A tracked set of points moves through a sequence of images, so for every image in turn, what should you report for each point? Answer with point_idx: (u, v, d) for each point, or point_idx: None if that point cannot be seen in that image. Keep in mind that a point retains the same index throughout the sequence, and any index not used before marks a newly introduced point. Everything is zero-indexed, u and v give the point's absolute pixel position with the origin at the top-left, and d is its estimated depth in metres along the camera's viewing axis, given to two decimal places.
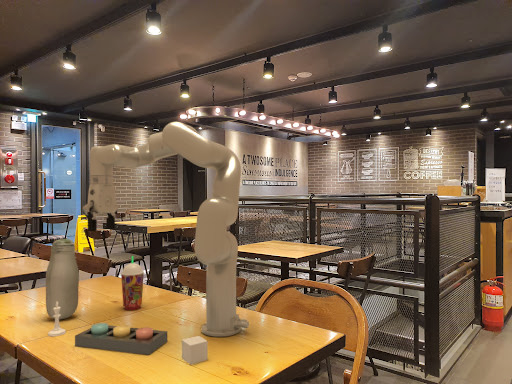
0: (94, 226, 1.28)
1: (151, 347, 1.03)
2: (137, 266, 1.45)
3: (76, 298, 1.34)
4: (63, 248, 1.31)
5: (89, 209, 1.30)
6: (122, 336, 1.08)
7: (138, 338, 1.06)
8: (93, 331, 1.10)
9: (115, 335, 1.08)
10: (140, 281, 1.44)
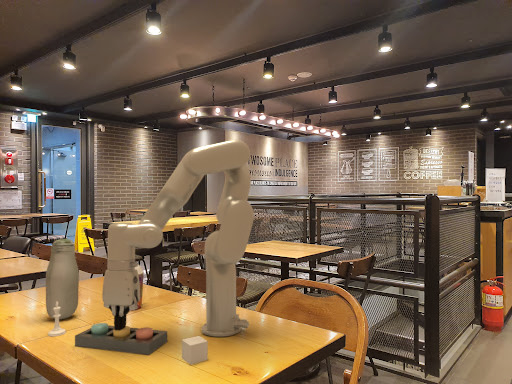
0: None
1: (151, 347, 1.03)
2: (137, 266, 1.45)
3: (76, 298, 1.34)
4: (63, 248, 1.31)
5: None
6: (122, 337, 1.08)
7: (138, 338, 1.06)
8: (93, 331, 1.10)
9: (115, 336, 1.08)
10: (140, 281, 1.44)
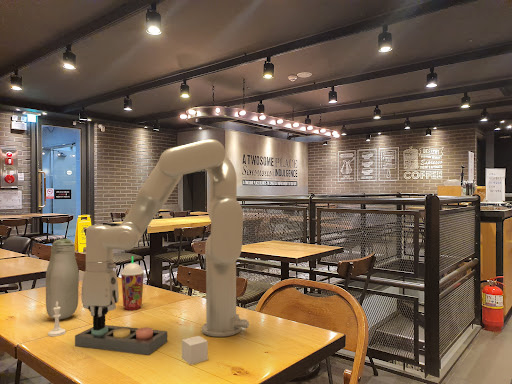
0: None
1: (151, 347, 1.03)
2: (137, 266, 1.45)
3: (76, 298, 1.34)
4: (63, 248, 1.31)
5: None
6: None
7: (138, 338, 1.06)
8: (93, 334, 1.10)
9: None
10: (140, 281, 1.44)
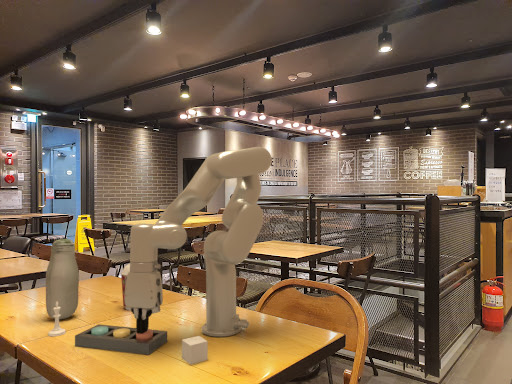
0: None
1: (151, 347, 1.03)
2: None
3: (76, 298, 1.34)
4: (63, 248, 1.31)
5: None
6: None
7: None
8: (93, 334, 1.10)
9: None
10: None
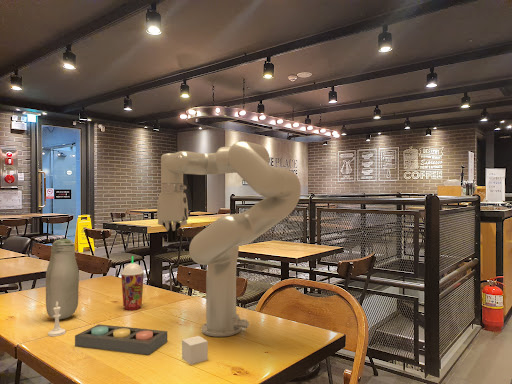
0: None
1: (151, 347, 1.03)
2: (137, 266, 1.45)
3: (76, 298, 1.34)
4: (63, 248, 1.31)
5: None
6: None
7: None
8: (93, 334, 1.10)
9: None
10: (140, 281, 1.44)
